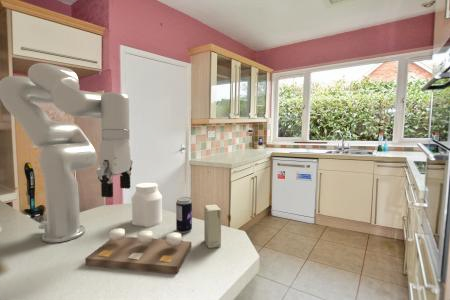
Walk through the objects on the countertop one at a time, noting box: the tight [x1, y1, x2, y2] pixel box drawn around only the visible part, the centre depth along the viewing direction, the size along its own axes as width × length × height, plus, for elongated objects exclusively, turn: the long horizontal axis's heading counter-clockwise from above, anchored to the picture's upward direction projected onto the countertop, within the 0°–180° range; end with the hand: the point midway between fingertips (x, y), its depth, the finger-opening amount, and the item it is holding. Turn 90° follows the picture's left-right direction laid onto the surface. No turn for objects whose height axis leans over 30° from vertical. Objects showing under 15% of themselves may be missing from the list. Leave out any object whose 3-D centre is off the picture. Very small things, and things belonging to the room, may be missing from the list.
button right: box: [165, 231, 182, 246], centre depth 73 cm, size 4×4×2 cm
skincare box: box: [203, 204, 222, 249], centre depth 80 cm, size 6×4×12 cm
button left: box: [108, 227, 126, 241], centre depth 75 cm, size 4×4×2 cm
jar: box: [131, 182, 163, 228], centre depth 98 cm, size 12×10×15 cm
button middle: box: [136, 229, 154, 243], centre depth 74 cm, size 4×4×2 cm
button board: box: [85, 236, 192, 275], centre depth 72 cm, size 26×14×2 cm, turn 83°
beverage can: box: [175, 196, 193, 234], centre depth 90 cm, size 6×6×12 cm
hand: (116, 192), depth 74 cm, fingers open, 9 cm apart
